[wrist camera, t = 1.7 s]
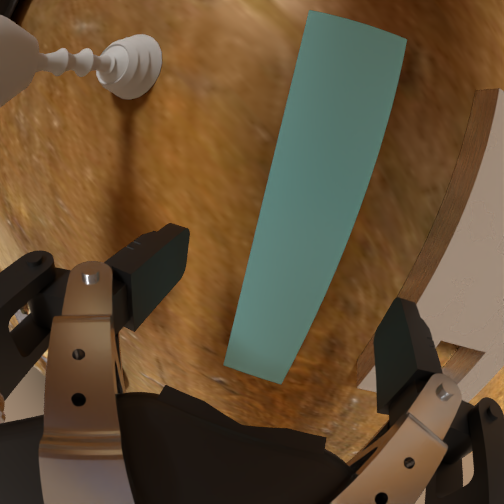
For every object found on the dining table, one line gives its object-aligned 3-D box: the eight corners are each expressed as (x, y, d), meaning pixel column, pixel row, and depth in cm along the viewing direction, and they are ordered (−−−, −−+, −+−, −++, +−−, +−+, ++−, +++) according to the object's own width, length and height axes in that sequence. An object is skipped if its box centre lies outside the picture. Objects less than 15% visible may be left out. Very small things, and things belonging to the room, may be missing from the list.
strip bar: (316, 41, 12) (309, 9, 8) (384, 61, 12) (407, 39, 7) (245, 316, 22) (223, 365, 18) (293, 332, 22) (281, 384, 17)
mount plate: (475, 90, 11) (499, 88, 8) (576, 174, 9) (598, 185, 7) (356, 360, 22) (356, 387, 19) (458, 382, 20) (464, 405, 17)
